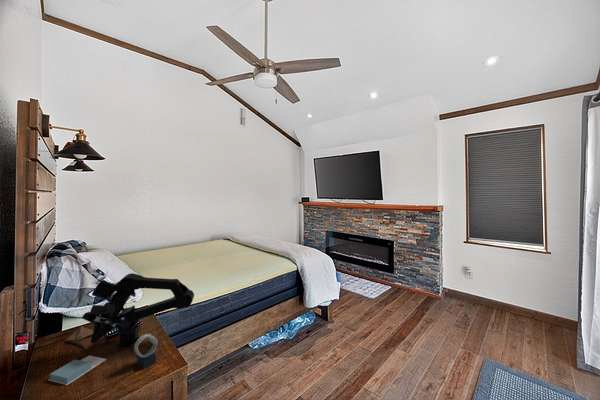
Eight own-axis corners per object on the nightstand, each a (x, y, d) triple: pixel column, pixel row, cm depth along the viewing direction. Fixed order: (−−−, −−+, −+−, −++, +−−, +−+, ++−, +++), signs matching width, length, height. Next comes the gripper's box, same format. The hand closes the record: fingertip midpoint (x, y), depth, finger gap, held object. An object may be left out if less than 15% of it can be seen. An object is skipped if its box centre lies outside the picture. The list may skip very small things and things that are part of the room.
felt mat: (89, 356, 105) (89, 355, 105) (106, 359, 102) (106, 359, 102) (47, 380, 91) (47, 379, 91) (67, 385, 89) (67, 385, 89)
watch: (160, 360, 103) (160, 332, 102) (139, 371, 96) (138, 342, 96) (153, 355, 106) (152, 328, 105) (131, 366, 99) (131, 337, 99)
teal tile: (74, 359, 99) (50, 373, 91) (91, 363, 97) (67, 378, 89) (74, 364, 99) (50, 379, 91) (91, 368, 97) (67, 383, 89)
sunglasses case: (60, 341, 114) (69, 324, 117) (76, 342, 120) (85, 326, 123) (87, 350, 108) (96, 333, 111) (103, 351, 114) (110, 334, 117)
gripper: (86, 292, 107) (56, 333, 97) (123, 297, 103) (97, 340, 93) (104, 303, 115) (78, 341, 105) (140, 308, 111) (117, 348, 101)
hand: (92, 343), depth 101 cm, fingers closed
